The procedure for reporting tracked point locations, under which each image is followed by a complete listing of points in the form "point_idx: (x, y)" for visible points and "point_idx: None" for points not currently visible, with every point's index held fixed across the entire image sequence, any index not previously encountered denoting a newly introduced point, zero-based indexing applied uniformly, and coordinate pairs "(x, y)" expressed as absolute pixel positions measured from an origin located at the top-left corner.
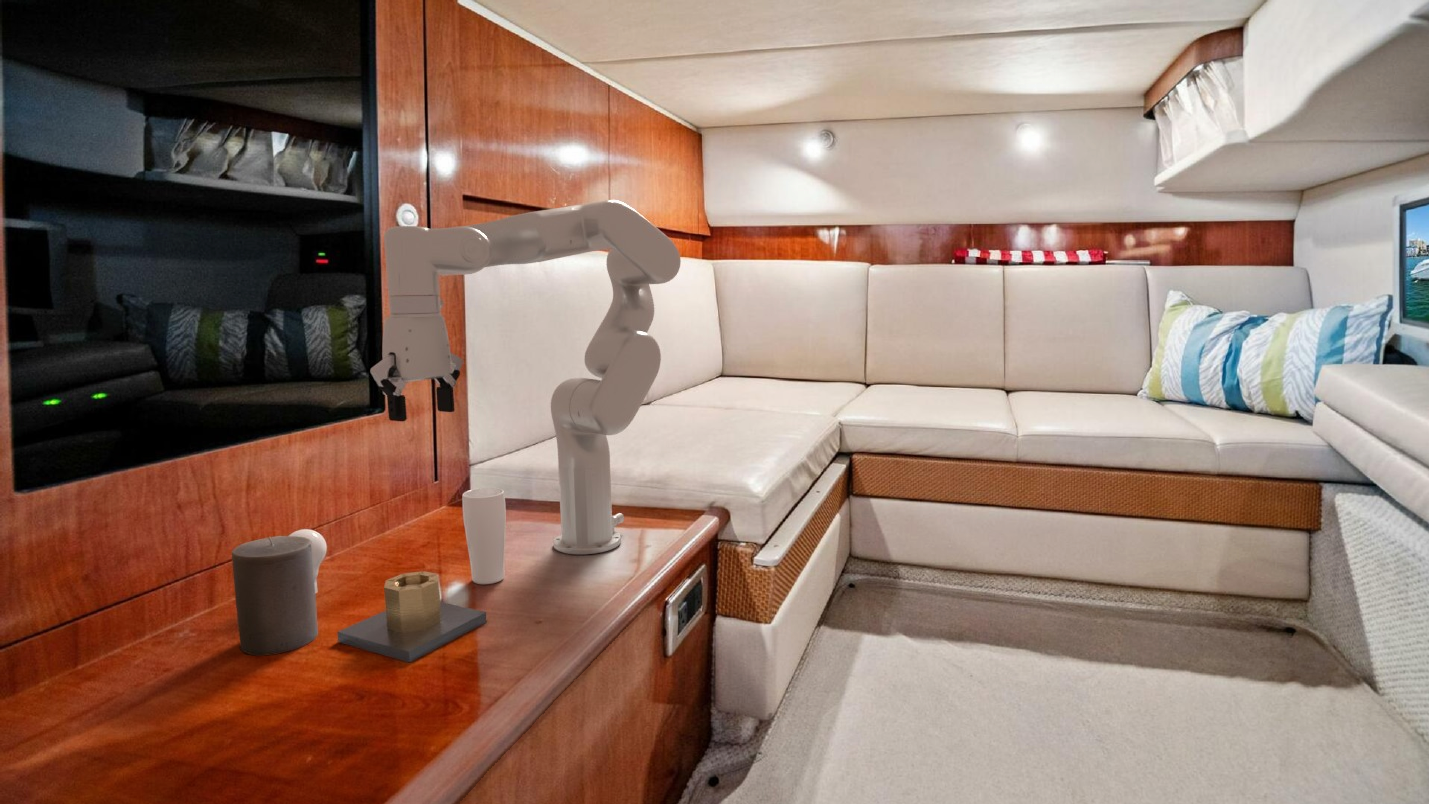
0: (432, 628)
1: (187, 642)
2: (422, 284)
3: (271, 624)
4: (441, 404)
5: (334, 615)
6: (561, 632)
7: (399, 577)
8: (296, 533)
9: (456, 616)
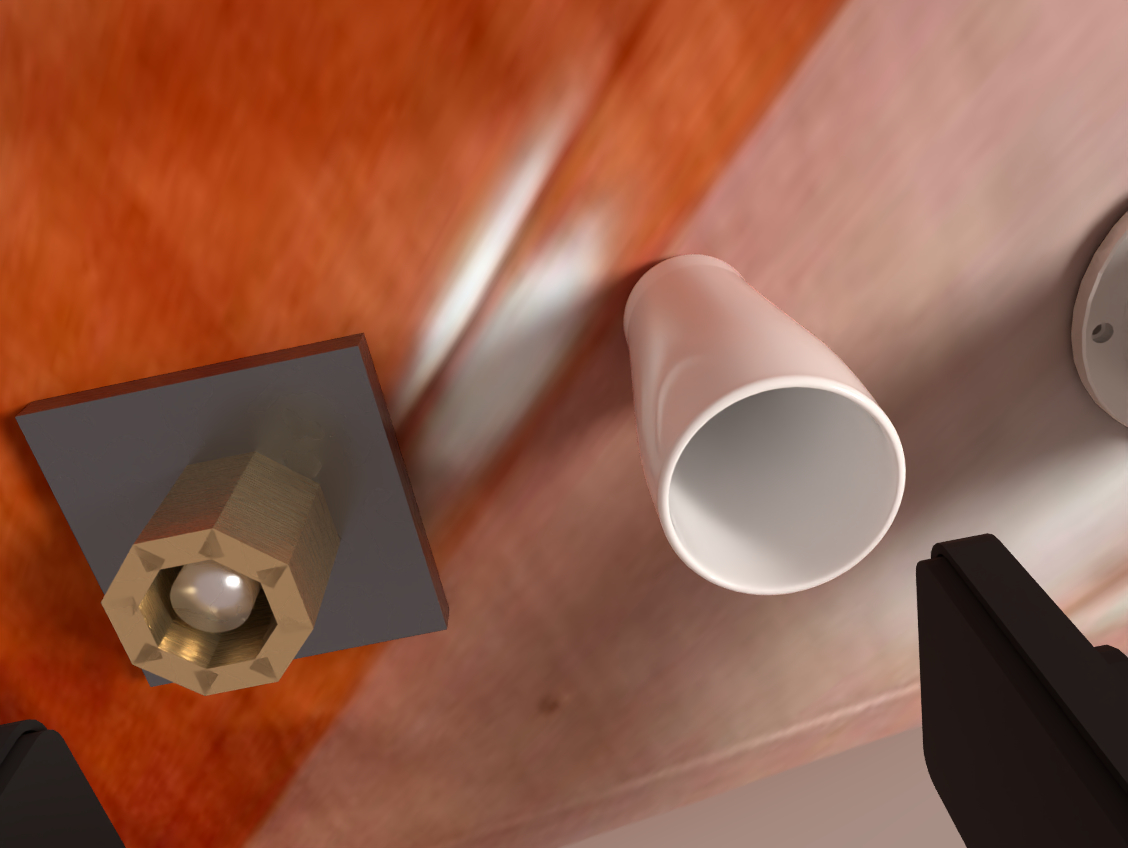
0: None
1: None
2: None
3: None
4: (963, 701)
5: (83, 158)
6: (543, 786)
7: (186, 555)
8: None
9: (365, 591)
